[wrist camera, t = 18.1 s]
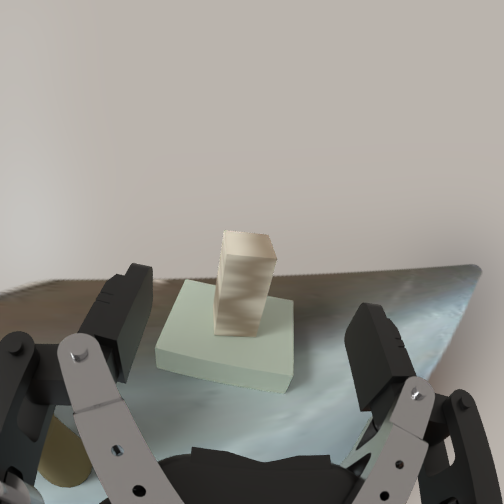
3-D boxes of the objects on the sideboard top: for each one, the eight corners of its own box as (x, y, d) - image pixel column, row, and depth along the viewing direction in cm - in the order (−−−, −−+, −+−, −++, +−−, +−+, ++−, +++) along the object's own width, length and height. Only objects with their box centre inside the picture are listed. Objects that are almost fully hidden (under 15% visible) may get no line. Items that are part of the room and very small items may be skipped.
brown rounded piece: (72, 421, 22) (31, 351, 16) (104, 471, 18) (64, 419, 13) (25, 444, 17) (-32, 379, 12) (54, 496, 14) (-10, 453, 9)
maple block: (214, 335, 31) (226, 254, 26) (212, 307, 35) (224, 230, 30) (256, 337, 32) (277, 258, 27) (250, 309, 36) (268, 234, 31)
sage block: (157, 370, 30) (154, 347, 28) (184, 302, 41) (185, 279, 39) (283, 396, 30) (293, 375, 28) (285, 322, 41) (293, 300, 39)
